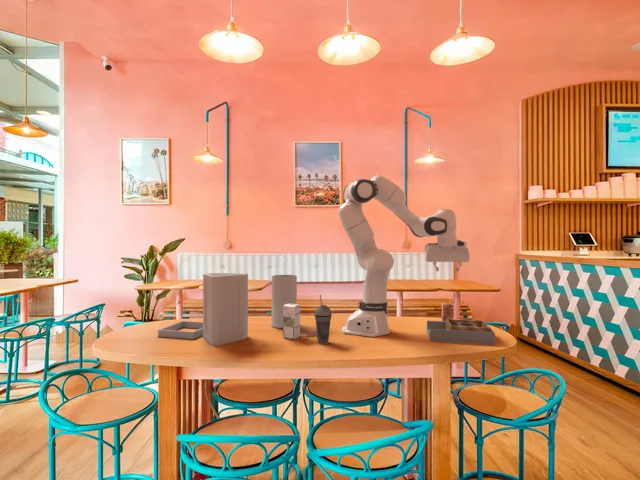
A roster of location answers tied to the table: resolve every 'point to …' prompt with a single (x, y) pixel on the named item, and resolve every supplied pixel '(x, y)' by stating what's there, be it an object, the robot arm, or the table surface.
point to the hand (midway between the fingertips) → (447, 271)
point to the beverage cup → (323, 323)
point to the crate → (467, 325)
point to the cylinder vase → (282, 296)
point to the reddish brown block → (446, 311)
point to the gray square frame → (171, 332)
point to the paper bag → (225, 307)
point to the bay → (458, 334)
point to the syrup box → (291, 321)
